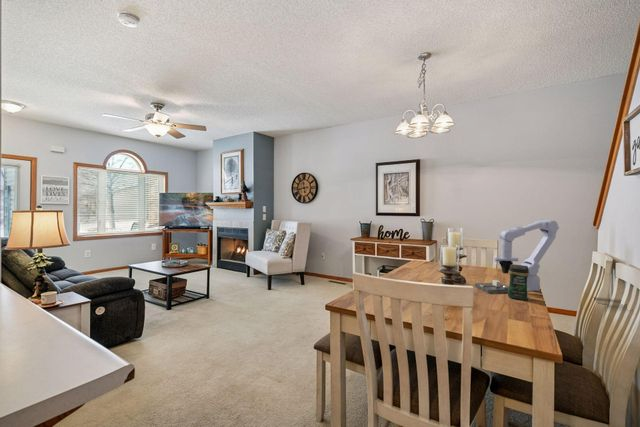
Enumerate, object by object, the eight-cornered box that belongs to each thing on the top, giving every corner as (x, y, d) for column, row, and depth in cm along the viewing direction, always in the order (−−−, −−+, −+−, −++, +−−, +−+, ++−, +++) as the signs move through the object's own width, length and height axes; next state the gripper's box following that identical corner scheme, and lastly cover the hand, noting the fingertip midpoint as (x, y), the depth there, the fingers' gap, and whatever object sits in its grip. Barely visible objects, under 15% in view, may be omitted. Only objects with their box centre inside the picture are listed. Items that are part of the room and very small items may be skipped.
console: (499, 285, 211) (499, 280, 211) (513, 292, 197) (514, 287, 197) (474, 286, 210) (475, 281, 209) (488, 293, 196) (488, 287, 195)
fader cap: (496, 284, 205) (496, 279, 205) (500, 286, 201) (500, 281, 201) (492, 284, 205) (492, 279, 205) (496, 286, 201) (496, 281, 201)
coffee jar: (507, 298, 187) (508, 265, 186) (507, 294, 194) (509, 262, 193) (527, 301, 182) (529, 267, 181) (527, 297, 189) (529, 264, 188)
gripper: (513, 249, 207) (512, 271, 208) (490, 249, 206) (490, 271, 207) (521, 251, 200) (520, 274, 201) (498, 252, 199) (497, 274, 200)
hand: (505, 273), depth 203 cm, fingers closed
